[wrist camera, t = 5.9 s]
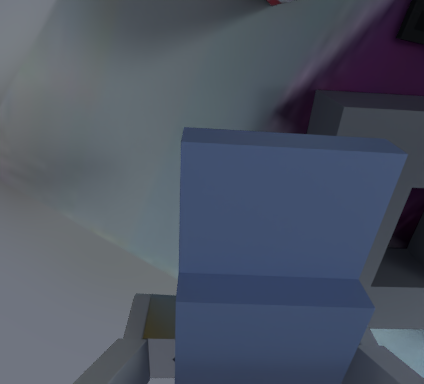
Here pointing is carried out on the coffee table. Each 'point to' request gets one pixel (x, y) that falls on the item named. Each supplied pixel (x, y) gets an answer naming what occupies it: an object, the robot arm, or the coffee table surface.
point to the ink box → (277, 1)
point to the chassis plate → (409, 178)
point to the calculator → (413, 23)
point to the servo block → (276, 253)
